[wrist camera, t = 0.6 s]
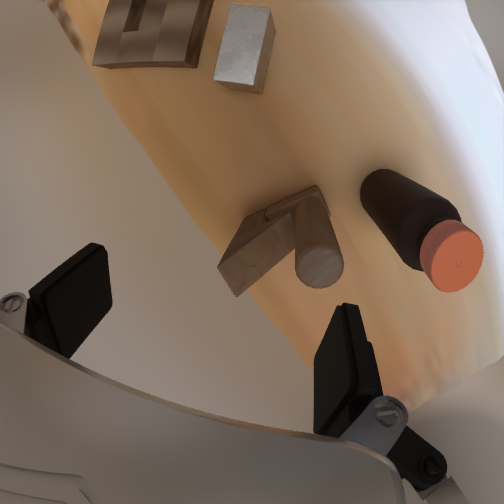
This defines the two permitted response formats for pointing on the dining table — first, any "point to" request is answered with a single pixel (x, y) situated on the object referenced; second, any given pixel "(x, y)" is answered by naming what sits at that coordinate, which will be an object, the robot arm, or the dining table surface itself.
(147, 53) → the post base
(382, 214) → the bottle
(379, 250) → the dining table surface
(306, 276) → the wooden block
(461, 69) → the dining table surface
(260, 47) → the grey bar
